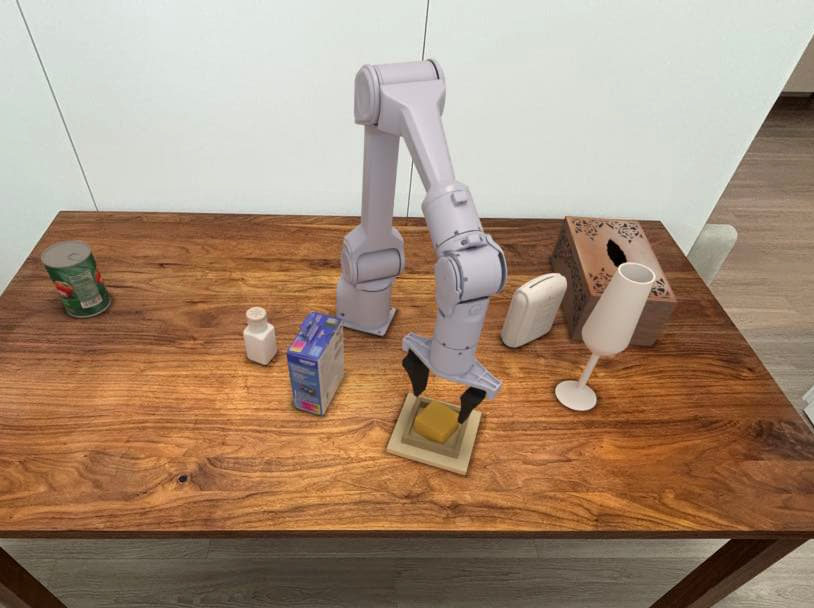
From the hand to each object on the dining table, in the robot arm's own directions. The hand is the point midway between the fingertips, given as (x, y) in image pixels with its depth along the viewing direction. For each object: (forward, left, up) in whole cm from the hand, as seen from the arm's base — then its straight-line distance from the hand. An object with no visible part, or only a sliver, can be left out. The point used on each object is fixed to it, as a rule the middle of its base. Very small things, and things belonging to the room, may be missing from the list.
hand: (441, 405), depth 77 cm
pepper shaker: (-32, +6, -7) cm, 33 cm away
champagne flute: (+20, +16, -7) cm, 26 cm away
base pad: (0, 0, -7) cm, 7 cm away
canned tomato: (-68, +7, -7) cm, 69 cm away
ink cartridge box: (-20, +2, -7) cm, 21 cm away
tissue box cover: (+22, +44, -7) cm, 50 cm away
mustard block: (0, 0, -6) cm, 6 cm away
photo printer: (+10, +28, -7) cm, 30 cm away
